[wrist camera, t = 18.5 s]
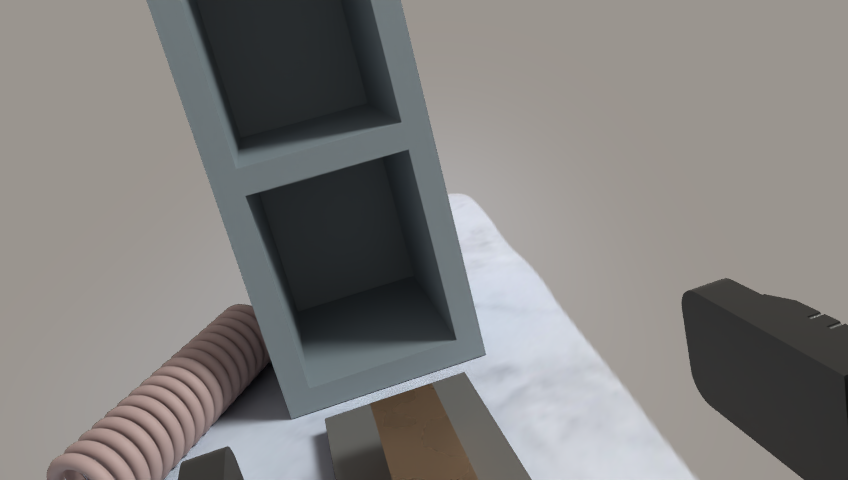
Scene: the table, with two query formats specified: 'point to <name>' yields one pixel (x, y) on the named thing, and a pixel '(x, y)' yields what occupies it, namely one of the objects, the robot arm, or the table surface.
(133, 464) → the coil
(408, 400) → the wooden plank with hole
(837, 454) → the robot arm
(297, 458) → the table surface
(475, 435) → the rubber mat
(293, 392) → the tall grey-blue box
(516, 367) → the table surface
